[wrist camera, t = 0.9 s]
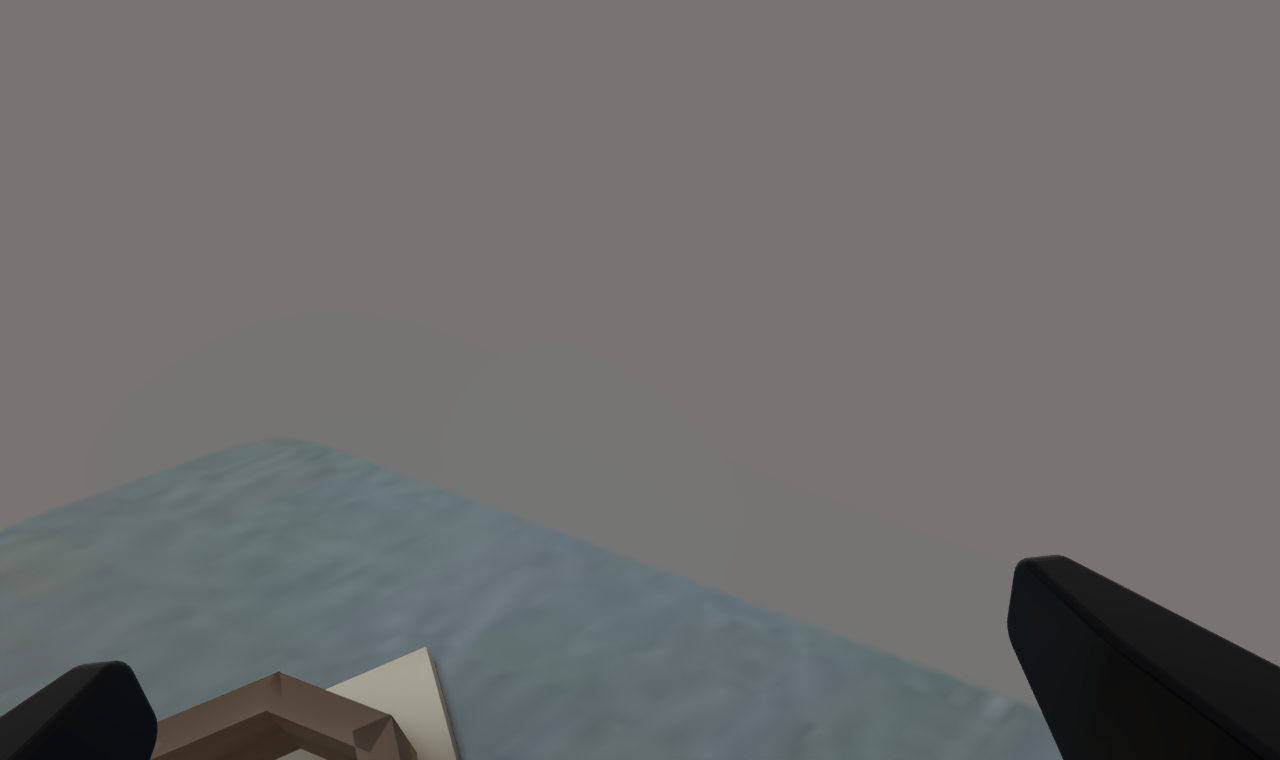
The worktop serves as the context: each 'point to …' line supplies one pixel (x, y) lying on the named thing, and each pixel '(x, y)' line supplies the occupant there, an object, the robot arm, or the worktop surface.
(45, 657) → the worktop surface
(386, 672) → the socket plate
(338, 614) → the worktop surface
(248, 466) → the worktop surface
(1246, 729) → the robot arm
